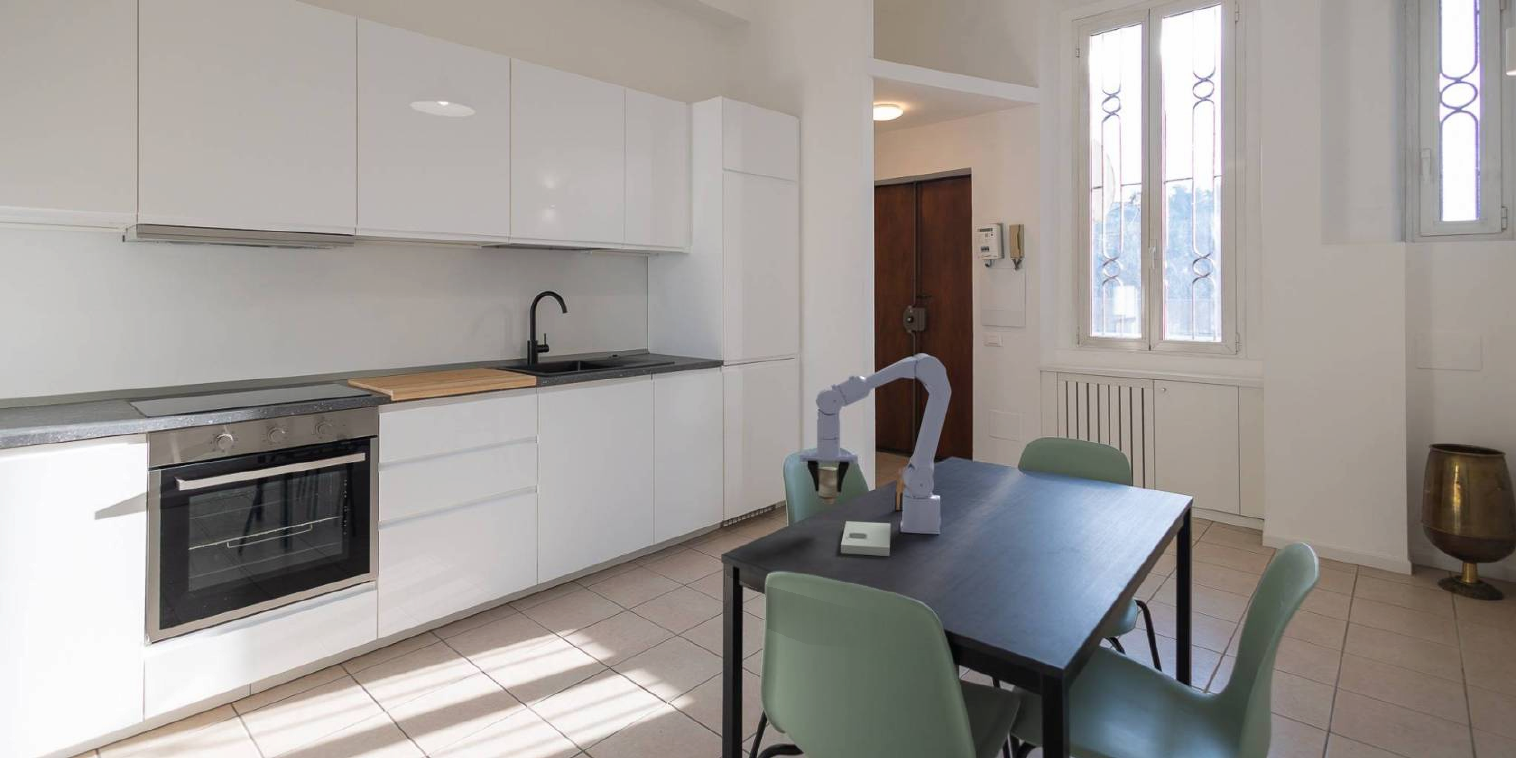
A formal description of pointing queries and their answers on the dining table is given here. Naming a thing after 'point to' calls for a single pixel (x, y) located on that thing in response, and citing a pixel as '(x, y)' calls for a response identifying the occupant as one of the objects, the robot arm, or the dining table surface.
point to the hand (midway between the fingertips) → (828, 490)
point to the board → (866, 538)
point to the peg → (828, 484)
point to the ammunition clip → (899, 491)
